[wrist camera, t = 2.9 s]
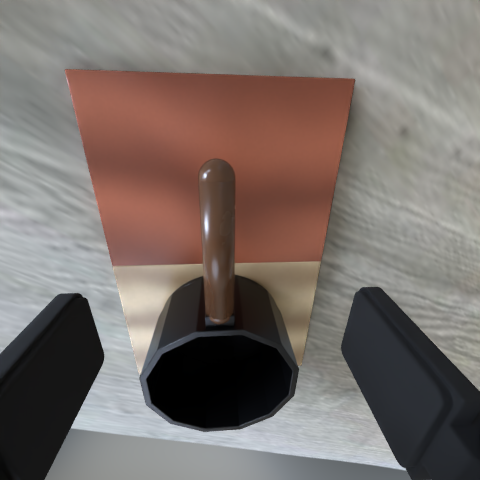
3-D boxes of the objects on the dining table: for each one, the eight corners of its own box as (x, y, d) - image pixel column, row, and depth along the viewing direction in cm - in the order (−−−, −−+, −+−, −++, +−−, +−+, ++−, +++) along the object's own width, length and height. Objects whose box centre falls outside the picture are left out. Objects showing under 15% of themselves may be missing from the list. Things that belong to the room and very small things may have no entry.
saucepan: (133, 146, 18) (85, 160, 11) (297, 148, 18) (337, 162, 12) (168, 364, 28) (153, 435, 21) (273, 358, 29) (288, 426, 22)
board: (70, 71, 16) (63, 68, 15) (350, 80, 17) (355, 78, 17) (140, 368, 29) (138, 374, 28) (299, 360, 30) (301, 365, 29)
